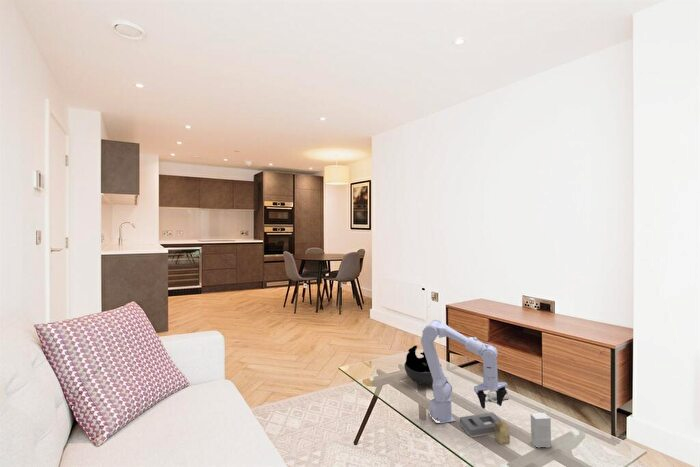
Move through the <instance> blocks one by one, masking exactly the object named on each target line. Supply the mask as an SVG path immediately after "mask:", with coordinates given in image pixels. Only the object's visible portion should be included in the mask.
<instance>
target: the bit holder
mask: <svg viewBox="0 0 700 467" xmlns="http://www.w3.org/2000/svg"><path fill="white" fill-rule="evenodd" d="M498 421H502V419H501V418H499V417H498V416H497V414H495V413H494V412H486V413H485V412H484V413H480V414H472V415H465V416H460V417H459V424H460V426H461V427H462V428H463V429H464V430H465V431H466V433H467V434H468V436H469V437H470V438H474V437H482V436H487V435H495V422H498Z"/></svg>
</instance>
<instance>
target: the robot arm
mask: <svg viewBox="0 0 700 467" xmlns="http://www.w3.org/2000/svg"><path fill="white" fill-rule="evenodd" d="M437 337H438V339H439V338H440V339H442V338H444V337H445V338H446V337H447V338H449V339H451V340H453V341H456V342H457V343H460V344H462V345H464V348H465V350H467V351H470V352H471V353H473V354H475V355H477V356H478V357H481V360H482V361H483V363H482V378H483V382H482V383H480V384H478V385H475V386H473V391H474V392H475V393H476V396H477V397H478V401H479V403H480V407H481V408H482V409H483V410H484V409H486V398H487V397H486V395H485V394H486V393H485V391H486V392H487V391H490V390H493V391H492V392H495V394H496V395H497V400H496V401H497V403H496V404H497V405H498V406H499V407H502V404H503V401H504V400H503V398H504V397H505V396H506V395H507V394H506V393H507V392H508V391H507V389H508V383H507V382H505V381H500V382H499V380H498V379H499V378H498V375H499V374H498V356H499V355H498V354H499V352H498V349H497V347H495V346H494V345H493V344H488V343H484V342H483V341H481V340H479V339H478V337H475V336H474V337H473V336H465V335H463V334H462V333H460V332H459V331H457V330H455V329H453V328H452V327H450V326H449V325H447V323H445V322H441V320H439V319H433V320H432V321H431V322H429V323H428V325H426V326H425V327H424V328H423V330H422V335H421V339H420V344H421V347H422V349H423V351H424V353H425V356H426V359H427V363H428V366H429V369H430V372H431V375H432V378H433V382H432V389H433V391H432V392H433V399H431V400H429V402H428V404H429V405H428V406H429V407H428V408H429V414H430V415H431V417H433V418H434V419H435V420H437V421H440V424H445V423H453V422H456V419H455V418H454V417H453V416H452V412H453V411H452V397H451V393H452V391H453V386H452V383H451V382H450V381H449V380H448V378H447V376H445V375H444V372H443V368H442V364H441V363H440V359H439V356H438V352H437V349H436V347H435V344H434V342H435V340H436V339H437ZM440 364H441V365H440ZM431 417H430V418H431Z"/></svg>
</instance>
